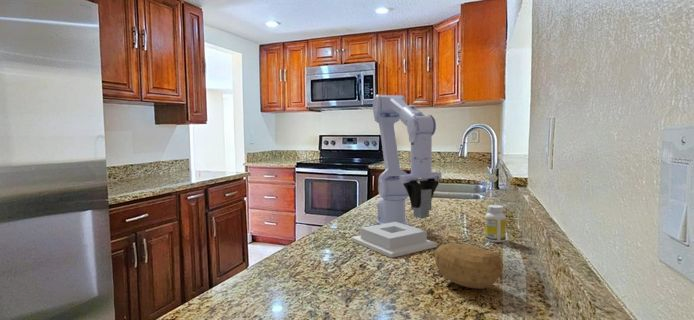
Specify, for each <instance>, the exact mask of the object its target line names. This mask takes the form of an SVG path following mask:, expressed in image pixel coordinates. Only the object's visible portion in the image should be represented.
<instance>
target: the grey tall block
mask: <svg viewBox="0 0 694 320" xmlns="http://www.w3.org/2000/svg"><path fill="white" fill-rule="evenodd" d="M431 192H432V189H428V188H421V191H420V197H419V207H418V208H414V207H412V206H411V205H410V209H411V210H412V211H413V217H414V218H418V219H425V218H430V212H431V211H432V200H431Z"/></svg>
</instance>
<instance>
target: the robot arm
mask: <svg viewBox="0 0 694 320" xmlns="http://www.w3.org/2000/svg"><path fill="white" fill-rule="evenodd" d="M372 111H373V117H374V121H375V122H376V123H378V125H379V131H380V132H379V133H380V134H379V135H380V140H381V141H380V142H381V146H382V147H381V148H382V155H383V162H384V163H383V164H384V169H385V170H384V171H383V172H382V173H380V175H379V176H378V184H377V185H378V186H377V189H378V191H377V192H378V194H379V196H380V199H379V200H378V202H377V220H376V221H375V224H377V225H380V224H385V223H391V222H399V223H402V224H405V225H409V226H412V223H409V222H406V200H408V197H409V202H410V207H411V206H412V207H414V208H418V207H419V197H420V191H421V188H428V189H432V192H431V201H432V200H433V196H434V194H435V193H434V192H435V191H436V190H437V188H438V186H439V180H442V172H438V171H437V172H436V171H434V172H432V160H433V159H432V154H433V153H432V150H433V148H432V145H433V144H432V140H433V138H432V137H433V136H434V134H435V132H436V129H437V124H436V119H435V117H434V116H433V115H432V114H429V115H425V114H424V113H423V112H422V111H420V110H419V109H418V108H417V107H416V105H415V104H409V105H408V104H407V103H406V97H405V96H404V95H403V94H399V95H398V94H394V95H393V94H391V95H390V94H376V95H375V96H374V98H373V101H372ZM400 121H401V123H402V124H403V125H405V126H406V130H407V135H408V141H409V143H410V173H407V172H406V171H404V170H403V169H401V167H400V162H399V161H400V160H399V154H398V146H397V140H396V139H397V138H396V133H395V132H396V131H395V126H394V125H395V124H396V123H398V122H400Z"/></svg>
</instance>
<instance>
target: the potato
mask: <svg viewBox="0 0 694 320" xmlns="http://www.w3.org/2000/svg"><path fill="white" fill-rule="evenodd" d="M434 251H435V252H434V255H433V256H434V260H435V264H436V268H437V269H438V271H439V272H440V274H441V275H442V276H443V278H445V279H446V280H448V281H449V282H451V283H454V284H457V285H459V286H462V287H464V288H468V289H478V290H482V289H486V288H489V287H491V286H492V285H494V284H495V283H496V282H497V281H498V279H499V277H500V276H501V275H502V272H503V269H504V262H503V259H502V258H501V257H500V256H499V254H497V253H495V252H494V251H492V250H488V249H484V248H482V247H478V246H476V245H472V244H461V243H456V242H455V243H454V242H452V243H451V242H450V243H445V244H442V245H439V246H437V247H436V249H435V250H434Z"/></svg>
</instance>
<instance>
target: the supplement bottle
mask: <svg viewBox="0 0 694 320" xmlns="http://www.w3.org/2000/svg"><path fill="white" fill-rule="evenodd" d="M487 211H488V212H487V213H486V214H485V217H484V218H485V219H484V220H485V221H484V223H485V231H484V232H485V234H484V237H485V240H486V241H488V242H490V243H504V242H505V241H506V240H507V237H506V236H507V235H506V234H507V233H506V231H507V230H506V229H507V226H506V225H507V224H506V223H507V216H506V215H505V214H504V206H503V205H499V204H490V205H488V206H487Z"/></svg>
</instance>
